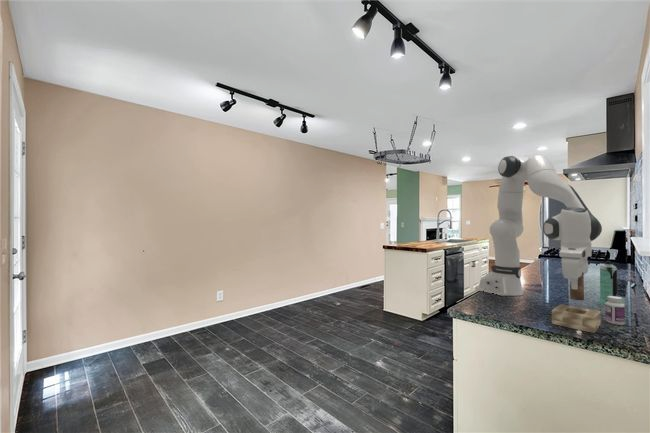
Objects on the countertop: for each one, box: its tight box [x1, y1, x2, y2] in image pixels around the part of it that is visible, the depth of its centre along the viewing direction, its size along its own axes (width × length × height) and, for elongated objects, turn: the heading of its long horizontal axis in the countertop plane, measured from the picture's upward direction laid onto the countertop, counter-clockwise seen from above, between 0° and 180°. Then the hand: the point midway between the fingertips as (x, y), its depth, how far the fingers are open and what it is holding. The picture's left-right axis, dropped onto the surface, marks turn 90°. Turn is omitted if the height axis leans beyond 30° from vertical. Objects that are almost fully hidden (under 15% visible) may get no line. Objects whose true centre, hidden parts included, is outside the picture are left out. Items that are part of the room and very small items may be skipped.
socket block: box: [551, 303, 602, 334], centre depth 111 cm, size 12×12×5 cm
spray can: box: [599, 260, 618, 307], centre depth 133 cm, size 6×6×20 cm
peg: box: [569, 273, 585, 301], centre depth 111 cm, size 4×4×10 cm
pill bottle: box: [604, 296, 626, 326], centre depth 112 cm, size 5×5×10 cm
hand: (576, 287), depth 111 cm, fingers closed on peg, 4 cm apart
